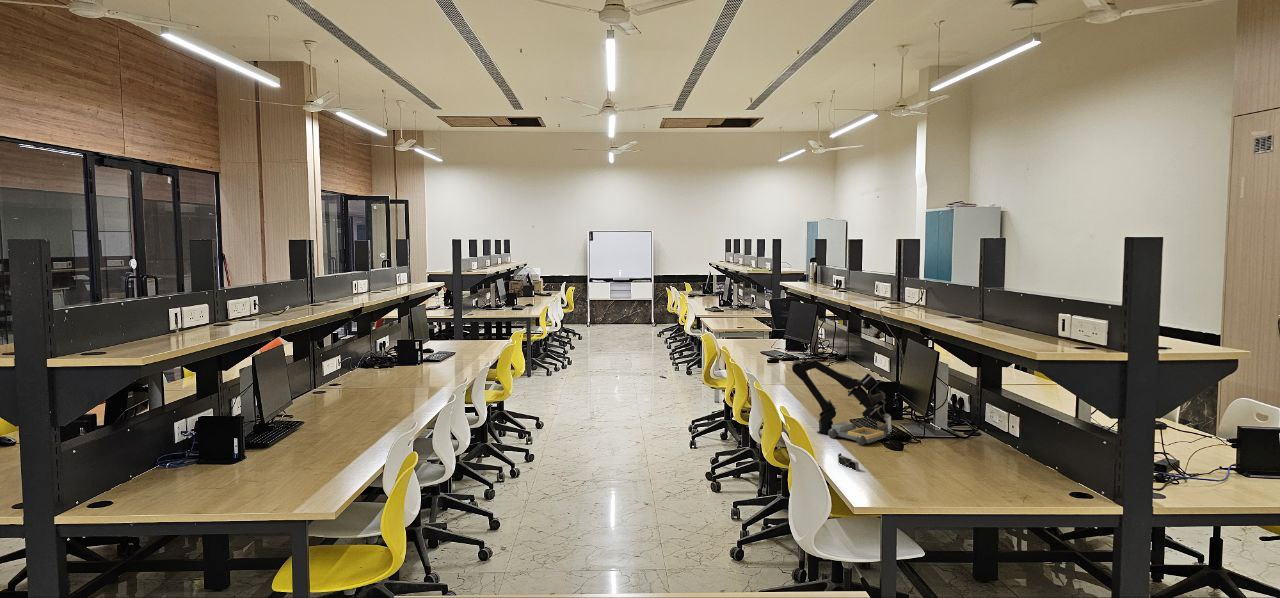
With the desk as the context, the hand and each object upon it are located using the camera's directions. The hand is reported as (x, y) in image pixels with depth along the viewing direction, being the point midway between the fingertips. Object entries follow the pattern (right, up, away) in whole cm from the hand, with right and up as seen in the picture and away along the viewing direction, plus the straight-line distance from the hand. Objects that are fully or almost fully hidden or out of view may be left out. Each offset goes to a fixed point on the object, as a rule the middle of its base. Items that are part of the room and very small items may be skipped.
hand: (887, 421), depth 334 cm
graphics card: (-31, -12, -42) cm, 54 cm away
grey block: (-1, -7, +1) cm, 7 cm away
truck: (-15, -8, -2) cm, 17 cm away
